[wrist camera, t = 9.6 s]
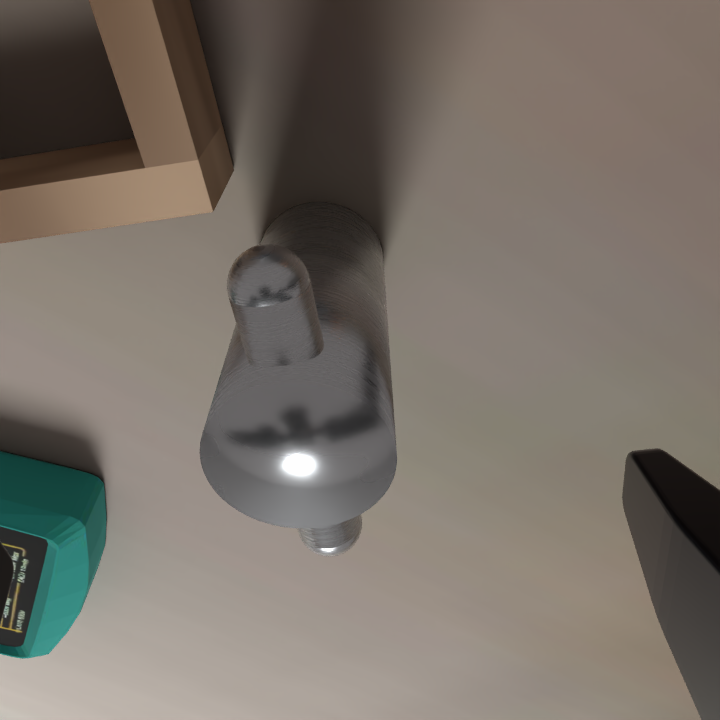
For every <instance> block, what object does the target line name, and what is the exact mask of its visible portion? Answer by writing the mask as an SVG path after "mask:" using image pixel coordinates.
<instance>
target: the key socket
mask: <svg viewBox="0 0 720 720" xmlns="http://www.w3.org/2000/svg"><path fill="white" fill-rule="evenodd" d="M89 2H90V5H91V8H92V11H93V14H94V17H95V20H96V23H97V26H98V29H99V32H100V35H101V38H102V41H103V44H104V47H105V50H106V53H107V56H108V59H109V62H110V65H111V68H112V71H113V74H114V77H115V80H116V83H117V86H118V88H119V91H120V94H121V97H122V100H123V103H124V106H125V109H126V112H127V115H128V118H129V121H130V124H131V127H132V130H133V133H134V136H135V138H132V139H126V140H120V141H114V142H107V143H101V144H95V145H88V146H82V147H76V148H70V149H63V150H57V151H51V152H44V153H38V154H32V155H26V156H19V157H13V158H7V159H1V160H0V243H6V242H13V241H20V240H27V239H33V238H40V237H47V236H54V235H60V234H67V233H74V232H81V231H87V230H94V229H101V228H108V227H115V226H121V225H128V224H135V223H142V222H148V221H155V220H162V219H169V218H175V217H182V216H189V215H196V214H202V213H209V212H213V211H214V209H215V207H216V205H217V203H218V201H219V199H220V197H221V195H222V193H223V191H224V189H225V187H226V185H227V183H228V181H229V179H230V177H231V175H232V173H233V171H234V168H233V164H232V160H231V157H230V153H229V149H228V145H227V141H226V137H225V134H224V130H223V126H222V122H221V118H220V115H219V111H218V107H217V103H216V99H215V95H214V92H213V88H212V84H211V80H210V76H209V72H208V69H207V65H206V61H205V57H204V53H203V49H202V46H201V42H200V38H199V34H198V30H197V26H196V23H195V19H194V15H193V11H192V7H191V3H190V0H89Z"/></svg>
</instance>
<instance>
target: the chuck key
mask: <svg viewBox="0 0 720 720" xmlns="http://www.w3.org/2000/svg"><path fill="white" fill-rule="evenodd" d="M227 291H228V296H229V300H230V303H231V307H232V310H233V313H234V317H235V320H236V326H235V329H234V332H233V336H232V339H231V342H230V345H229V349H228V352H227V355H226V358H225V362H224V365H223V368H222V372H221V375H220V378H219V381H218V385H217V388H216V391H215V394H214V398H213V401H212V404H211V408H210V411H209V414H208V417H207V421H206V424H205V427H204V430H203V434H202V438H201V442H200V459H201V465H202V468H203V471H204V474H205V476H206V478H207V480H208V482H209V483H210V485H211V486H212V488H213V489H214V490H215V491H216V492H217V494H218V495H219V496H220V497H221V498H222V499H223V500H224V501H226V502H227V503H228V504H229V505H231V506H232V507H233V508H235V509H236V510H238V511H240V512H241V513H243V514H245V515H247V516H249V517H251V518H254V519H256V520H258V521H261V522H265V523H268V524H272V525H276V526H281V527H289V528H298V532H299V535H300V537H301V539H302V541H303V543H304V544H305V545H306V546H307V547H308V548H309V549H310V550H311V551H313V552H315V553H316V554H319V555H322V556H337V555H340V554H343V553H344V552H346V551H348V550H349V549H350V548H352V547H353V545H354V544H355V543H356V541H357V540H358V538H359V536H360V533H361V528H362V517H361V514H362V513H363V512H365V511H366V510H368V509H369V508H371V507H372V506H373V505H374V504H376V503H377V502H378V501H379V500H380V498H381V497H382V496H383V495H384V494H385V492H386V491H387V489H388V488H389V486H390V484H391V482H392V480H393V478H394V474H395V471H396V464H397V452H396V438H395V423H394V409H393V394H392V380H391V365H390V350H389V336H388V321H387V307H386V292H385V278H384V263H383V252H382V247H381V244H380V242H379V239H378V237H377V235H376V233H375V232H374V230H373V229H372V227H371V226H370V225H369V224H368V223H367V222H366V221H365V220H364V219H363V218H362V217H361V216H359V215H358V214H356V213H355V212H353V211H352V210H350V209H347V208H345V207H343V206H340V205H336V204H332V203H324V202H314V203H306V204H302V205H299V206H296V207H293V208H291V209H289V210H287V211H285V212H284V213H282V214H281V215H280V216H278V217H277V218H276V219H275V220H274V221H273V222H272V223H271V225H270V226H269V227H268V229H267V230H266V232H265V234H264V236H263V238H262V241H261V244H260V245H257V246H254V247H252V248H250V249H248V250H246V251H245V252H243V253H242V254H241V255H240V256H239V257H238V258H237V259H236V260H235V261H234V263H233V265H232V267H231V269H230V271H229V275H228V279H227Z"/></svg>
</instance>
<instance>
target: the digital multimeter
mask: <svg viewBox="0 0 720 720" xmlns="http://www.w3.org/2000/svg"><path fill="white" fill-rule="evenodd" d="M106 521H107V517H106V503H105V490H104V483H103V482H102V481H101V480H100V479H99V478H98V477H96V476H94V475H92V474H90V473H86V472H82V471H79V470H75V469H72V468H68V467H64V466H60V465H56V464H52V463H48V462H44V461H39V460H35V459H31V458H27V457H23V456H19V455H15V454H10V453H6V452H2V451H0V541H1V543H2V544H3V546H4V547H5V549H6V550H7V552H8V553H9V555H10V556H11V558H12V561H13V565H14V574H13V579H12V583H11V586H10V590H9V594H8V598H7V602H6V605H5V609H4V613H3V617H2V621H1V624H0V654H3V655H7V656H11V657H16V658H32V657H36V656H42V655H46V654H49V653H50V652H51V651H52V649H53V648H54V647H55V646H56V645H57V644H58V642H59V641H60V640H61V639H62V638H63V637H64V635H65V634H66V633H67V632H68V630H69V629H70V627H71V626H72V624H73V623H74V621H75V619H76V618H77V616H78V615H79V613H80V612H81V609H82V607H83V604H84V602H85V599H86V597H87V594H88V591H89V589H90V586H91V584H92V581H93V579H94V576H95V574H96V571H97V569H98V566H99V563H100V559H101V556H102V553H103V550H104V547H105V539H106Z"/></svg>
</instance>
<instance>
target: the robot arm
mask: <svg viewBox="0 0 720 720" xmlns="http://www.w3.org/2000/svg"><path fill="white" fill-rule="evenodd" d="M622 498H623V507H624V512H625V515H626V518H627V522H628V525H629V528H630V531H631V535H632V538H633V541H634V544H635V548H636V551H637V554H638V557H639V561H640V564H641V567H642V570H643V574H644V577H645V580H646V583H647V587H648V590H649V593H650V596H651V600H652V603H653V606H654V609H655V612H656V615H657V618H658V620H659V623H660V625H661V628H662V630H663V633H664V635H665V638H666V640H667V642H668V644H669V647H670V649H671V651H672V654H673V656H674V658H675V660H676V663H677V665H678V667H679V670H680V672H681V674H682V676H683V679H684V681H685V683H686V686H687V688H688V690H689V692H690V695H691V697H692V699H693V701H694V704H695V706H696V708H697V711H698V713H699V715H700V717H701V720H720V490H719V489H717V488H716V487H715V486H713V485H712V484H710V483H709V482H708V481H706V480H705V479H703V478H702V477H701V476H699V475H698V474H696V473H695V472H694V471H692V470H691V469H689V468H688V467H686V466H685V465H684V464H682V463H681V462H679V461H678V460H677V459H675V458H674V457H672V456H671V455H670V454H668V453H667V452H665V451H663V450H661V449H647V450H638V451H632V452H630V453H629V454H628V456H627V458H626V464H625V474H624V484H623V495H622ZM13 574H14V565H13V561H12V558H11V556H10V555H9V553H8V552H7V550H6V549H5V547H4V546H3V544H2V543H1V541H0V624H1V621H2V617H3V613H4V609H5V605H6V602H7V598H8V594H9V590H10V586H11V583H12V579H13Z"/></svg>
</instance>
